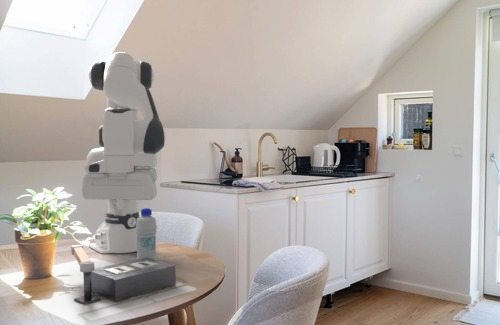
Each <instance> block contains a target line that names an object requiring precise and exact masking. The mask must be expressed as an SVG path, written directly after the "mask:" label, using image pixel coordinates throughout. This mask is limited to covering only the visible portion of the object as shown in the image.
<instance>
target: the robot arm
mask: <svg viewBox="0 0 500 325" xmlns="http://www.w3.org/2000/svg"><path fill="white" fill-rule="evenodd" d="M92 62H93V61H92ZM88 79H89V82H90V84H91V86H92V88H94V90H99V91H102V92H103V91H104V93H105V95H106V97H107V99H106V109H104V113H103V116H102V117H103V118H102V124H101V125H100V126H99V128H98V136H99V139H98V146H100V147H97V148H92V149H91V150H89V152H88V154H87V156H86V160H85V161H86V162H85V164H86V165H85V166H84V171H85V173H86V174H84V176H83V180H82V187H81V188H82V189H81V196H82V197H83V198H84V199H85V200H107V212H106V213H104V216H103V217H105V219H104V223H103V224H102V225H101V226H100V227H99V228H98V229H97V230H96V231H95V236H94V240H95V242H92V243H91V242H90V243H89V244H90V245H88V247H89V248H91V249H93V251H96V252H97V253H100V254H126V253H127V254H128V253H134V252H137V233H136V222H137V218H139V217H140V212H139V205H138V204H139V203H138V202H139V201H153V200H155V199H156V197H157V195H158V193H157V192H158V191H157V190H158V189H157V182H156V181H157V175H158V174H157V170H156V166H157V163H158V161H157V160H158V159H157V155H156V154H157V153H158V152H160V151H161V150H162V149H163V148H164V147H165V144H166V132H165V129H164V126H163V124H162V122H161V120H160V117H159V114H158V110H157V108H156V104H155V102H154V98H153V95H152V92H151V91H150V89H151V88H152V85H153V83H154V82H155V81H154V79H155V72H154V70H153V68H152V65H151V63H149V62H148V61H147V62H146V61H143V60H140V61H138V60H135V59H134V57H133V56H132V55H131V54H129V53H127V52H123V51H119V52H114V53H112V54H111V55H110V56H109V57H108V59H107V60H103V59H100V60H99V59H98V60H95V61H94V62H93V63H91V65H90V68H89V70H88ZM138 111H140V112H141V114H142V116H143V119H140V120H139V118H138Z"/></svg>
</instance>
